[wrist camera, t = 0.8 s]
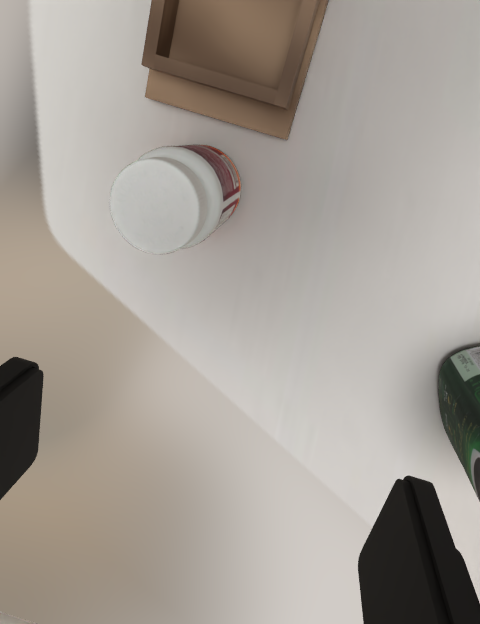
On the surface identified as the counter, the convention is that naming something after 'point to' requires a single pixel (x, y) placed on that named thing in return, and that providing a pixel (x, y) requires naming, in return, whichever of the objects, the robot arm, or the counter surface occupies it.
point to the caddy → (233, 58)
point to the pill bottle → (174, 197)
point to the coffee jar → (463, 409)
